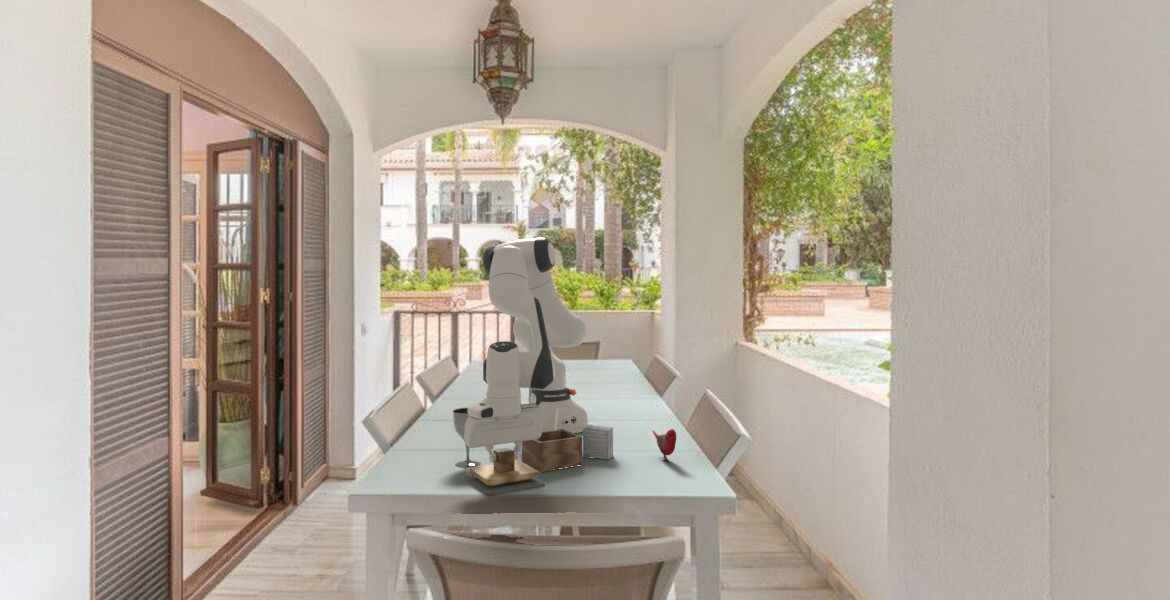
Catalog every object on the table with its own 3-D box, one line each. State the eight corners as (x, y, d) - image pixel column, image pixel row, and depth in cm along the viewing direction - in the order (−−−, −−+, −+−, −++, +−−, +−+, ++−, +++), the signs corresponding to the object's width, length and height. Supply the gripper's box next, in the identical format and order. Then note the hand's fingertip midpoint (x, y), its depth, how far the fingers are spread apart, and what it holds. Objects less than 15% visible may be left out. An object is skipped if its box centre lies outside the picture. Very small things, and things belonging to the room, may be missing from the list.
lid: (519, 468, 192) (518, 441, 192) (539, 480, 182) (539, 452, 181) (469, 476, 185) (469, 448, 184) (487, 489, 175) (487, 460, 174)
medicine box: (613, 456, 208) (613, 426, 207) (608, 460, 204) (608, 430, 203) (587, 453, 210) (587, 424, 210) (582, 457, 206) (582, 428, 206)
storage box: (562, 456, 207) (562, 429, 207) (582, 465, 198) (582, 437, 197) (522, 462, 201) (522, 434, 200) (539, 472, 191) (539, 443, 191)
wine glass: (469, 469, 194) (468, 414, 193) (447, 465, 198) (446, 411, 197) (488, 462, 201) (487, 409, 200) (466, 458, 205) (466, 406, 204)
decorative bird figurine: (670, 467, 196) (670, 431, 196) (647, 451, 213) (648, 417, 213) (680, 467, 197) (680, 431, 196) (657, 450, 214) (657, 417, 213)
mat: (517, 469, 194) (517, 467, 194) (544, 485, 180) (544, 483, 180) (464, 478, 186) (464, 475, 186) (488, 495, 173) (488, 493, 173)
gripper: (534, 400, 190) (535, 451, 191) (461, 408, 180) (462, 462, 181) (545, 404, 185) (546, 457, 186) (470, 413, 175) (471, 469, 175)
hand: (503, 460), depth 183 cm, fingers open, 4 cm apart
